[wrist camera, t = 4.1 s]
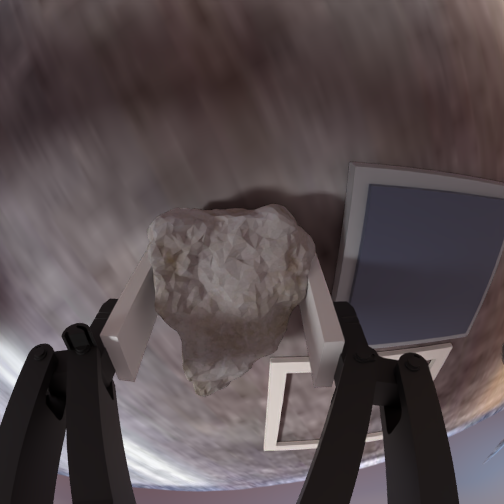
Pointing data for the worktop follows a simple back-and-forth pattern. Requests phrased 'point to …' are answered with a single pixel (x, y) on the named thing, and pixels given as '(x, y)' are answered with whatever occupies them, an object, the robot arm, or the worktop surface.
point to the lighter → (503, 353)
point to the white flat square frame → (302, 365)
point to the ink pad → (417, 251)
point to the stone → (227, 285)
